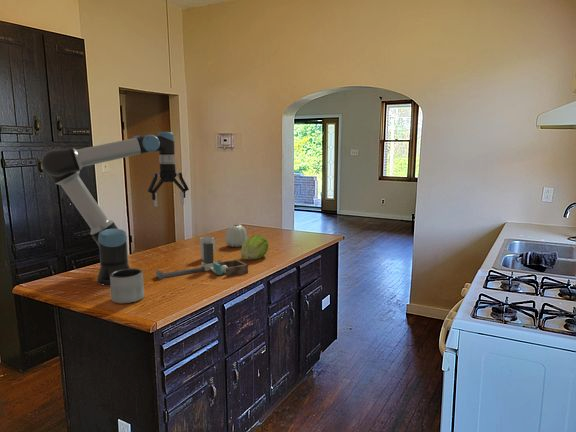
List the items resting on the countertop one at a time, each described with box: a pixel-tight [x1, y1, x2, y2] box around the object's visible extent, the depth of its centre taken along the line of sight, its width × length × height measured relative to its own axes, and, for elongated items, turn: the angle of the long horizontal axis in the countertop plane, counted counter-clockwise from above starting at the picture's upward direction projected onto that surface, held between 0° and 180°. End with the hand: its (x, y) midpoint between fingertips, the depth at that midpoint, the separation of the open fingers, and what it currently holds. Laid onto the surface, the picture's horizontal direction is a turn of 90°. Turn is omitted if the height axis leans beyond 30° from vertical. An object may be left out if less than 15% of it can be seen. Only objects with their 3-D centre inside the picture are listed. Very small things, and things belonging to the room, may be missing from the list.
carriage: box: [200, 242, 224, 276], centre depth 205 cm, size 6×15×13 cm, turn 34°
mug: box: [199, 236, 216, 261], centre depth 231 cm, size 10×7×12 cm, turn 145°
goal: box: [218, 259, 249, 278], centre depth 206 cm, size 11×12×4 cm
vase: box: [224, 224, 249, 248], centre depth 260 cm, size 14×14×13 cm
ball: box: [221, 265, 228, 274], centre depth 204 cm, size 4×4×4 cm
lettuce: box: [240, 234, 269, 261], centre depth 230 cm, size 13×22×14 cm
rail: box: [155, 260, 223, 280], centre depth 205 cm, size 33×5×3 cm, turn 124°
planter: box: [110, 268, 145, 304], centre depth 168 cm, size 13×13×11 cm
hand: (169, 205), depth 212 cm, fingers open, 13 cm apart
